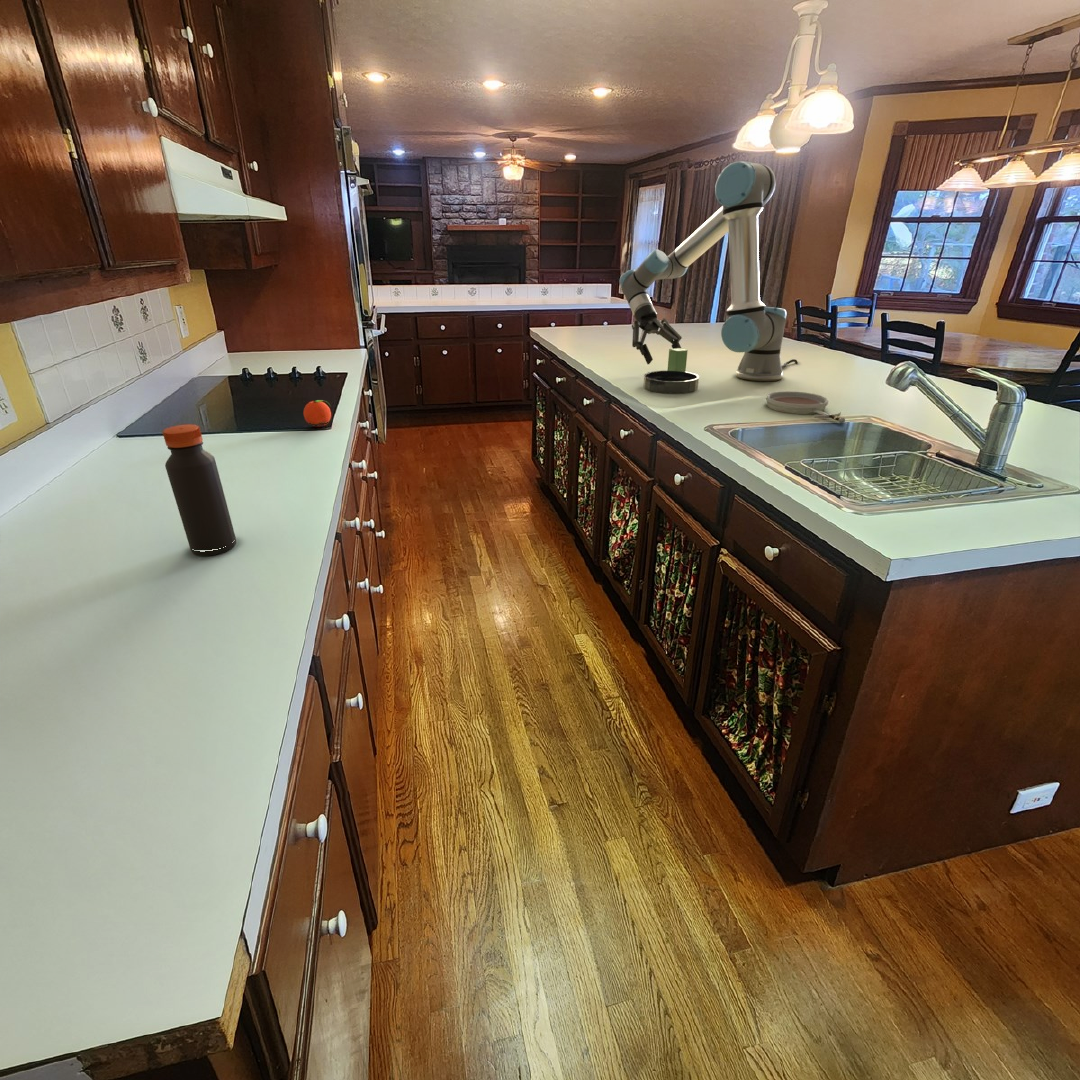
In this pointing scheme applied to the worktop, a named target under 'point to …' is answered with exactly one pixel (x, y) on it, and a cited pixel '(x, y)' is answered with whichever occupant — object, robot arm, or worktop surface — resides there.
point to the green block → (677, 359)
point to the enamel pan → (671, 382)
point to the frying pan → (801, 404)
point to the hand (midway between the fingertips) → (665, 360)
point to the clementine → (317, 413)
